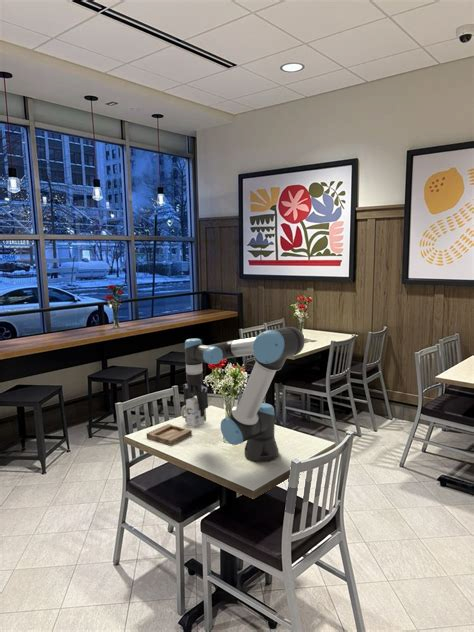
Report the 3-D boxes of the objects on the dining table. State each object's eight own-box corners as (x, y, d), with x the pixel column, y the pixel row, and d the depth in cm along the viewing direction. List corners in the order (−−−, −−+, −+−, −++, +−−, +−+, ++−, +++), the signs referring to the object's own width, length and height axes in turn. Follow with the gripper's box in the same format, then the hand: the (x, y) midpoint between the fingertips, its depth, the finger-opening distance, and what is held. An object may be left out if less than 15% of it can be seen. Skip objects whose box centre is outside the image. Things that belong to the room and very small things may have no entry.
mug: (193, 416, 252) (192, 396, 250) (204, 419, 246) (203, 399, 245) (176, 422, 243) (176, 402, 241) (187, 425, 237) (187, 405, 236)
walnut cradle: (191, 434, 226) (191, 430, 225) (170, 445, 214) (170, 440, 213) (168, 427, 235) (168, 423, 235) (146, 437, 223) (146, 433, 223)
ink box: (198, 418, 215) (197, 394, 214) (206, 420, 212) (205, 396, 211) (186, 424, 208) (185, 399, 207) (194, 426, 205) (193, 401, 204)
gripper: (215, 373, 205) (217, 422, 208) (185, 368, 216) (187, 416, 218) (204, 376, 199) (206, 428, 202) (174, 372, 209) (176, 420, 212)
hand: (196, 421), depth 210 cm, fingers closed on ink box, 5 cm apart
